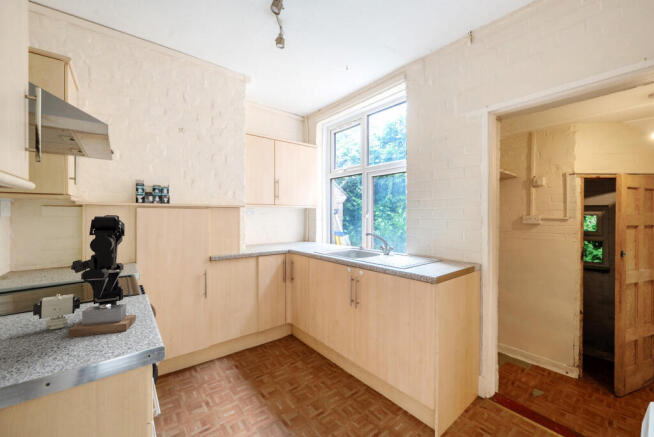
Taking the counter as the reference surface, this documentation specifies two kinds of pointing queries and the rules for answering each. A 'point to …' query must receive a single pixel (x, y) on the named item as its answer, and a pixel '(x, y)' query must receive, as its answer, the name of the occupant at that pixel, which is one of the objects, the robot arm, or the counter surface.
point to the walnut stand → (101, 327)
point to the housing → (103, 314)
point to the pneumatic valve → (56, 309)
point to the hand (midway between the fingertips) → (103, 294)
